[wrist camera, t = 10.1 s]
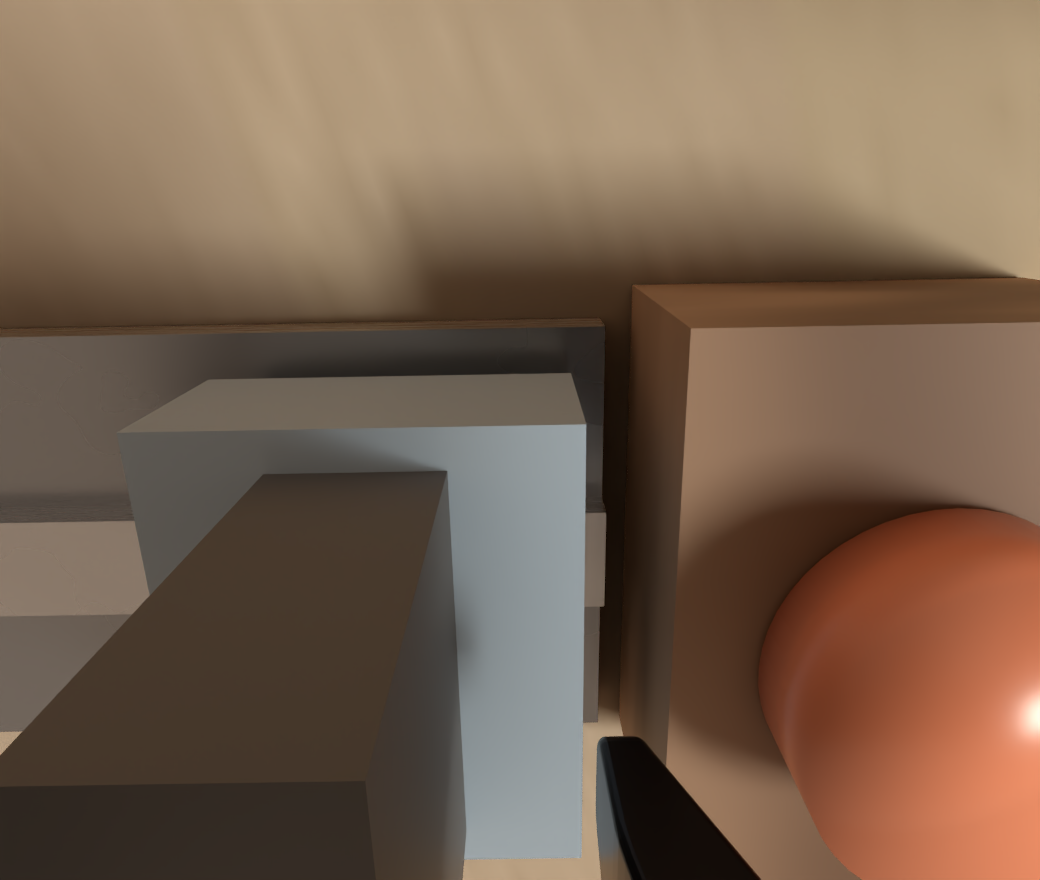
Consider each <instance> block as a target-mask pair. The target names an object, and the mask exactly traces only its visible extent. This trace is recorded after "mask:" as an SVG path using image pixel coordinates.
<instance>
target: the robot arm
mask: <svg viewBox="0 0 1040 880" xmlns="http://www.w3.org/2000/svg"><path fill="white" fill-rule="evenodd" d="M596 822H597V836H598V847H599V858H600V869H601V880H761V878H760V877H759V876H758V875H757V874H756V872H755V871H754V870H753V869H752V868H751V867H750V865H749V864H748V863H747V862H746V861H745V859H744V858H743V857H742V856H741V855H740V854H739V852H738V851H737V850H736V849H735V848H734V846H733V845H732V844H731V843H730V842H729V841H728V839H727V838H726V837H725V836H724V835H723V833H722V832H721V831H720V830H719V829H718V828H717V826H716V825H715V824H714V823H713V822H712V820H711V819H710V818H709V817H708V816H707V815H706V813H705V812H704V811H703V810H702V809H701V807H700V806H699V805H698V804H697V803H696V802H695V800H694V799H693V798H692V797H691V796H690V794H689V793H688V792H687V791H686V790H685V789H684V787H683V786H682V785H681V784H680V783H679V781H678V780H677V779H676V778H675V777H674V776H673V774H672V773H671V772H670V771H669V770H668V768H667V767H666V766H665V765H664V764H663V763H662V761H661V760H660V759H659V758H658V757H657V755H656V754H655V753H654V752H653V751H652V750H651V748H650V747H649V746H648V745H647V744H646V742H645V741H644V740H642V739H641V738H639V737H636V736H614V737H602V738H601V739H600V740H599V742H598V745H597V774H596ZM0 880H1V879H0Z"/></svg>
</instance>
